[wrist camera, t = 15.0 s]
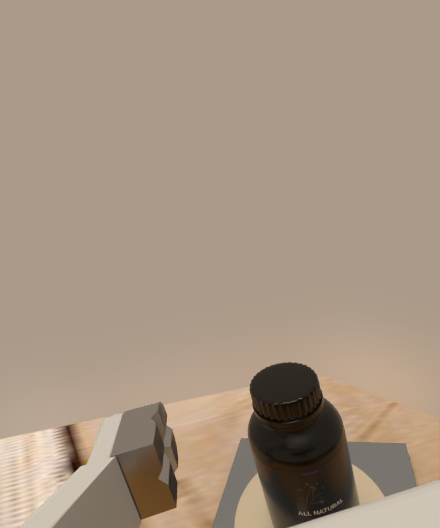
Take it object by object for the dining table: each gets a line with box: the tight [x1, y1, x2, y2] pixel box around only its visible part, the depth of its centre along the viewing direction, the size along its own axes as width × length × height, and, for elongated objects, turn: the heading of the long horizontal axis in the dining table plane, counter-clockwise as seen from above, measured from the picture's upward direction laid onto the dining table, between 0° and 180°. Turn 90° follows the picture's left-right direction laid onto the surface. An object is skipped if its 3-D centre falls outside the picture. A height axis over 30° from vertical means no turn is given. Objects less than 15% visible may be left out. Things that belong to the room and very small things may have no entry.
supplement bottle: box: [248, 362, 360, 528], centre depth 23 cm, size 7×7×12 cm
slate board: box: [212, 438, 417, 528], centre depth 25 cm, size 16×16×2 cm
